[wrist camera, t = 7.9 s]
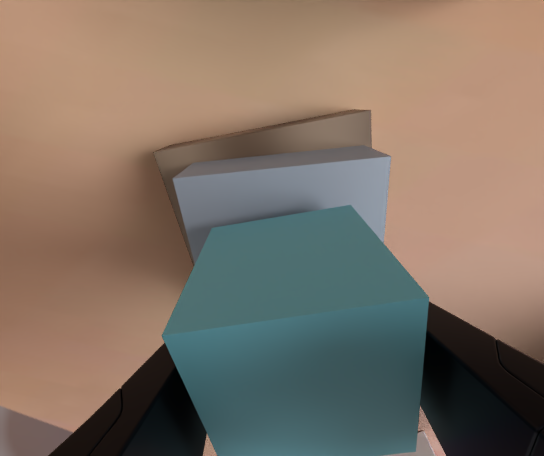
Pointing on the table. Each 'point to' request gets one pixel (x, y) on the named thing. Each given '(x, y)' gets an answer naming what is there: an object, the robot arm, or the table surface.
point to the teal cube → (301, 339)
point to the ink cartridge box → (419, 447)
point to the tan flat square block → (264, 146)
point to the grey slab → (282, 188)
